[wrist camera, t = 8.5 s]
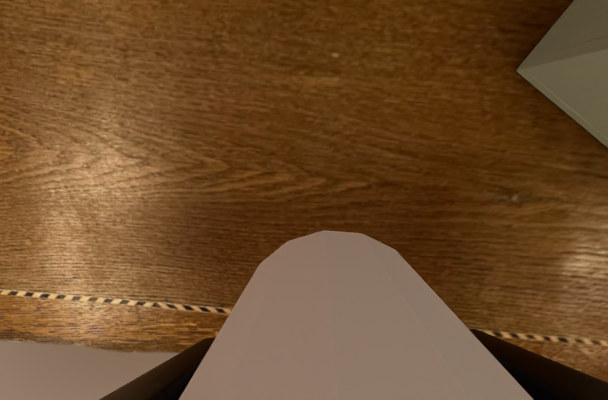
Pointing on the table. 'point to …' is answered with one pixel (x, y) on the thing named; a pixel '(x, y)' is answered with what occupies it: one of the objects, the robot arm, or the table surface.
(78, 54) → the table surface
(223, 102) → the table surface
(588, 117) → the chest
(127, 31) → the table surface
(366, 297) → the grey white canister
